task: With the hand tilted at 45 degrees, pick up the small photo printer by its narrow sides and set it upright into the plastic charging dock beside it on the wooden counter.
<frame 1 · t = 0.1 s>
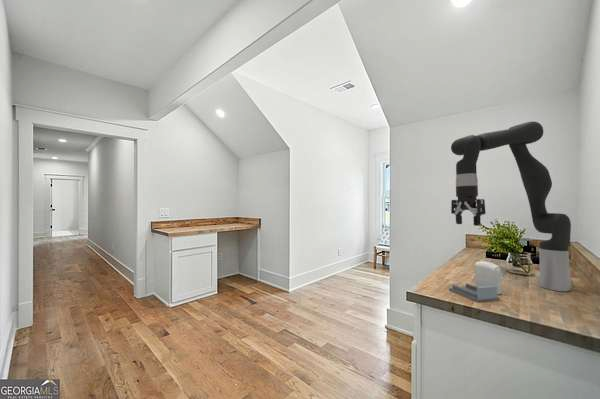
hand: (467, 224, 103), 29 cm above the table, tool pointing down, fingers open, 8 cm apart
charging dock: (472, 295, 104), on the table
photo printer: (488, 291, 109), on the table
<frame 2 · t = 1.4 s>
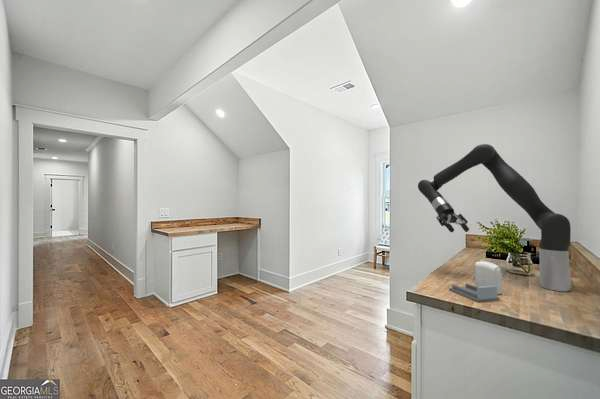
hand: (460, 231, 123), 24 cm above the table, tool tilted 45°, fingers open, 8 cm apart
nothing on the table moved.
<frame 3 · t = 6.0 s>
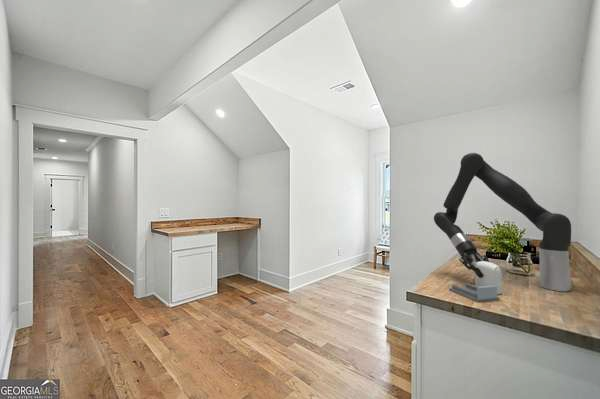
hand: (486, 276, 110), 6 cm above the table, tool tilted 45°, fingers closed on photo printer, 4 cm apart
photo printer: (488, 291, 109), on the table, touching gripper
when the fingers open (8 cm above the table, at t = 10.9 s): photo printer drops 1 cm, resting on charging dock.
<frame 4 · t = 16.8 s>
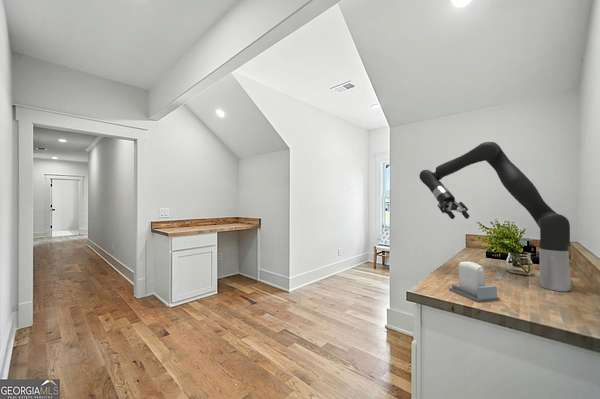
hand: (460, 217, 127), 31 cm above the table, tool tilted 45°, fingers open, 8 cm apart
photo printer: (471, 292, 105), point 1 cm above the table, touching charging dock
at the end: photo printer 0.4 cm off-centre on the charging dock, point 0.8 cm above the charging dock's base; photo printer tilted 0°; the gripper is holding nothing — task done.
